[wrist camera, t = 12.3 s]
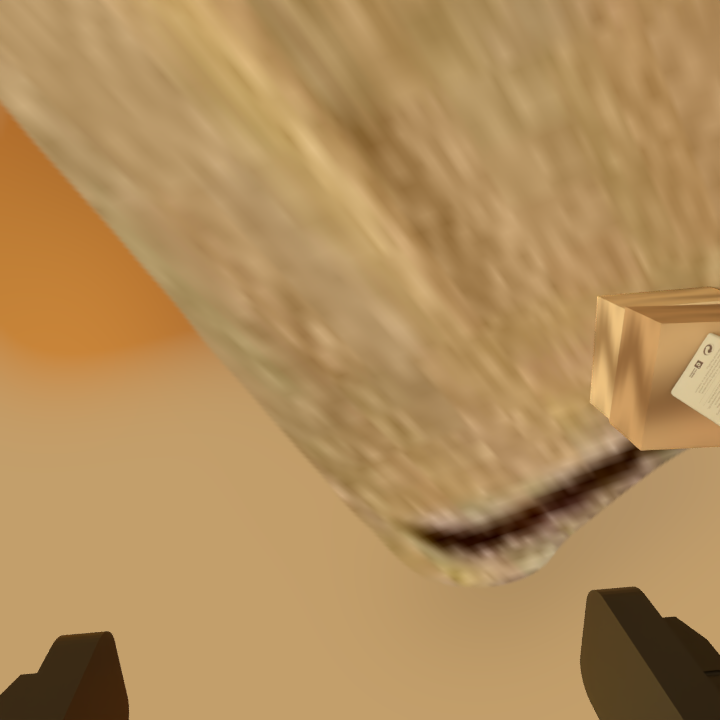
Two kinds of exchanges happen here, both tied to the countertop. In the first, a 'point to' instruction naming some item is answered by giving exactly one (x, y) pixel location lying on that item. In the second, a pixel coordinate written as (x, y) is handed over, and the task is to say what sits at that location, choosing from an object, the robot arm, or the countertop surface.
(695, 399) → the skincare box
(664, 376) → the tan square block
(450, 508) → the countertop surface
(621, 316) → the block lower
